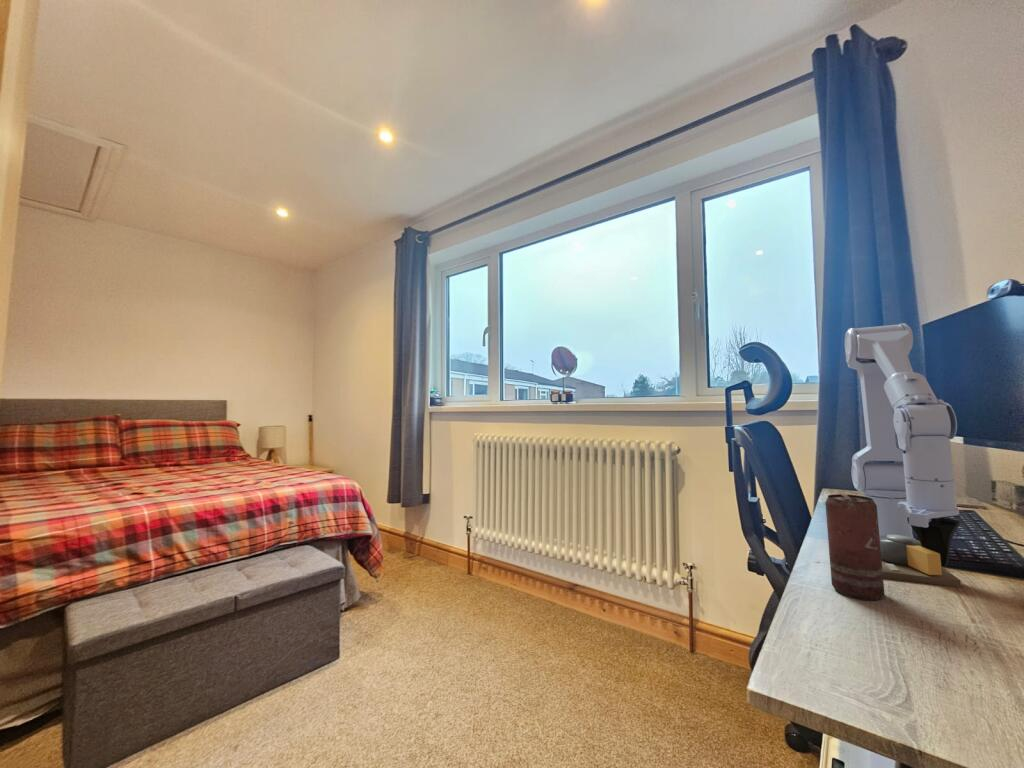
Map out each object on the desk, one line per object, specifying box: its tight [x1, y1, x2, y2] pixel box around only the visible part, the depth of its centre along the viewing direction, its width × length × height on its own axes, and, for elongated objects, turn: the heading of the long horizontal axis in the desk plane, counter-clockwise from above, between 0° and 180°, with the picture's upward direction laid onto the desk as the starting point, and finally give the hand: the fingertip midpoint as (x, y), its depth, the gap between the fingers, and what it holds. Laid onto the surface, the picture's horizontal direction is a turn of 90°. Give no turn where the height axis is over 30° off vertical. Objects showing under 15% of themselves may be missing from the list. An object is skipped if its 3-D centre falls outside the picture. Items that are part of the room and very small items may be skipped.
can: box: [824, 493, 885, 601], centre depth 64 cm, size 6×6×14 cm
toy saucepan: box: [879, 535, 942, 575], centre depth 71 cm, size 10×6×4 cm, turn 172°
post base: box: [881, 559, 962, 588], centre depth 72 cm, size 14×10×1 cm
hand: (936, 564), depth 68 cm, fingers closed, pressing on toy saucepan
